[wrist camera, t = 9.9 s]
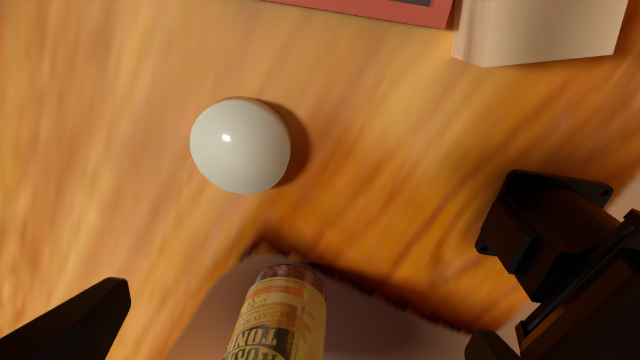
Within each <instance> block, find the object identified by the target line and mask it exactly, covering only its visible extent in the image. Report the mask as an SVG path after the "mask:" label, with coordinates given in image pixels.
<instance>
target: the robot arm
mask: <svg viewBox="0 0 640 360" xmlns="http://www.w3.org/2000/svg"><path fill="white" fill-rule="evenodd" d="M517 176H519V178H518V179H517V180H514V178H515V177H517ZM602 190H604V191H603V192H601V191H602ZM600 192H601V193H600ZM612 193H613V188H612V187H611V186H609V185H607V184H605V183H601V182H594V181H588V180H581V179H575V178H568V177H562V176H556V175H549V174H543V173H536V172H530V171H524V170H513V171H511V172H509V173H508V175H507V177H506V179H505V181H504V183H503V185H502V187H501V190H500V192H499V194H498V196H497V198H496V199H495V200H494V202H493V204H492V206H491V208H490V210H489V212H488V214H487V217H486V219H485V221H484V223H483V225H482V227H481V230H480V231H481V232H480V234H479V237H478V239H477V241H476V243H475V249H476V250H477V252H478V253H480V254H484V255H491V256H497V257H498V258H499V260H500V262H501V263H502V265H503V266H504V268H505V269H506V271H507V272H508V273H509V274H512V275H514V276H515V278H516V279H517V281H518V282H519V284H520V285H521V286H522V288H523V289H524V291H525V292H526V294H527V295H528V297H529V298H530V300H531V301H532V302H536V303H541V304H540V305H539V306H538V307H537V308H536V309H535V310H534V311H533V312H532V313H531V314H530V315H529V316H528V317H527V318H526V319H525V320H524V321H522V320H521V321H520V322H519V323H518V324H517V325H516V326H515V331H516V335H517V340H518V344H519V349H520V356H521V357H520V356H519V355H518V354H517V353H516V352H515V351H514V350H513V349H512V348H511V347H510V346H508V344H507V343H506V342H505V341H504V340H503V339H502V338H501V337H500V336H499V335H498V334H496V333H495V332H494V331H491V330H485V329H477V330H475V332H474V333H473V335H472V337H471V339H470V340H469V342H468V344H467V346H466V348H465V353H464V355H465V360H640V211H638V210H636V209H631V210H630V211H629V212H628V213H627V214H626V215H625V216H624V217H623V218H624V219H625V220H624V221H623V222H622V223H621V222H620V221H618V220H617V219H616V218H614V217H613V216H612V215H610V214H609V213H607V212H606V211H605V210H603V207H604V206H605V204H606V203H607V201H608V200H609V198H610V197H611V195H612ZM482 246H485V247H483V248H481V247H482ZM130 307H131V297H130V292H129V286H128V282H127V280H126V279H124V278H117V277H108V278H105V279H103V280H102V281H100V282H98V283H96V284H95V285H93V286H91V287H89V288H88V289H86V290H84V291H82V292H81V293H79V294H77V295H75V296H74V297H72V298H70V299H68V300H67V301H65V302H63V303H61V304H60V305H58V306H56V307H54V308H53V309H51V310H49V311H47V312H46V313H44V314H42V315H40V316H39V317H37V318H35V319H33V320H32V321H30V322H28V323H26V324H25V325H23V326H21V327H19V328H18V329H16V330H14V331H12V332H11V333H9V334H7V335H5V336H4V337H2V338H0V360H105V359H106V357H107V355H108V353H109V351H110V348H111V346H112V344H113V342H114V340H115V338H116V336H117V334H118V332H119V330H120V328H121V326H122V324H123V322H124V320H125V318H126V316H127V314H128V312H129V310H130Z"/></svg>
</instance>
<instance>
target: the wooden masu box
mask: <svg viewBox="0 0 640 360" xmlns="http://www.w3.org/2000/svg"><path fill="white" fill-rule="evenodd" d="M627 3H628V0H455V13H454V26H453V40H452V54H451V56H452V57H454V58H457V59H460V60H463V61H466V62H469V63H472V64H475V65H478V66H481V67H484V68H485V67H495V66H504V65H514V64H524V63H534V62H544V61H553V60H563V59H573V58H583V57H593V56H602V55H612V54H613V52H614V48H615V45H616V41H617V38H618V34H619V31H620V27H621V24H622V20H623V17H624V13H625V10H626V6H627Z"/></svg>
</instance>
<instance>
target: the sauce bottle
mask: <svg viewBox="0 0 640 360" xmlns="http://www.w3.org/2000/svg"><path fill="white" fill-rule="evenodd" d="M326 300H327V297H326V291H325V287H324V284H323V282H322V281H321V279H320V278H319V277H318V276H317V275H316V274H315V273H314V272H313V271H311V270H310V269H307V268H305V267H302V266H299V265H291V264H281V265H275V266H271V267H268V268H267V269H266V270H264V271H263V272H262V273H261V274H260V275H259V276H258V277H257V279H256V280H255V281H254V282H253V284H252V287H251V288H250V290H249V291H248V294H247V296H246V299H245V302H244V304H243V307H242V310H241V312H240V315H239V318H238V321H237V323H236V326H235V329H234V332H233V335H232V337H231V340H230V343H229V346H228V349H227V351H226V354H225V356H224V359H223V360H323V354H324V339H325V329H326V315H327V307H326Z"/></svg>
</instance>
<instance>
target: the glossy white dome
mask: <svg viewBox="0 0 640 360" xmlns="http://www.w3.org/2000/svg"><path fill="white" fill-rule="evenodd" d="M190 149H191V154H192V157H193V160H194V162H195V164H196V165H197V167H198V169H199V170H200V171H201V173H202V174H203V175H204V176H205V177H206V178H207V179H208V180H209V181H211V182H212V183H213V184H215V185H216V186H218V187H220V188H222V189H224V190H226V191H229V192H232V193H237V194H256V193H260V192H263V191H266V190H268V189H270V188H271V187H273V186H274V185H275V184H276V183H277V182H278V181H279V180H280V179H281V178H282V176H283V175H284V173H285V171H286V168H287V166H288V163H289V160H290V156H291V150H292V143H291V136H290V133H289V130H288V128H287V126H286V124H285V122H284V121H283V119H282V118H281V117H280V115H279V114H278V113H277V112H276V111H275V110H274V109H272V108H271V107H270V106H268V105H267V104H265V103H263V102H261V101H259V100H257V99H253V98H250V97H243V96H235V97H229V98H225V99H222V100H220V101H218V102H216V103H215V104H213V105H212V106H211V107H209V108H208V109H207V110H205V111H204V112H203V113H202V114H201V115H200V116H199V117H198V118H197V120H196V121H195V123H194V125H193V127H192V130H191V134H190Z"/></svg>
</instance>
